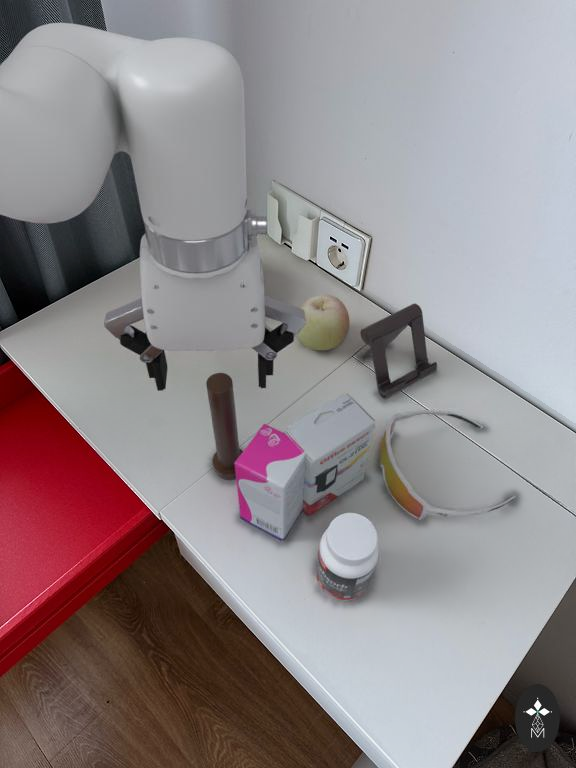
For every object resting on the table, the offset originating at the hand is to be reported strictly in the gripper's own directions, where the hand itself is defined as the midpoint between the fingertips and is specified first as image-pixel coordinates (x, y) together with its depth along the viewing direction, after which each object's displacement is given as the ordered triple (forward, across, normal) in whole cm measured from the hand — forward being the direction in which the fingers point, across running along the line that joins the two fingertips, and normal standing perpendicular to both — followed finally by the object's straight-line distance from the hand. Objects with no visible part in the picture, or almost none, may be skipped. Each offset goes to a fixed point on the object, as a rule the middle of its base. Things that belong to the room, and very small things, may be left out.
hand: (212, 378), depth 56 cm
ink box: (+16, -12, +3) cm, 20 cm away
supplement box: (+16, -6, +6) cm, 18 cm away
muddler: (+16, -1, 0) cm, 16 cm away
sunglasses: (+16, -26, +2) cm, 30 cm away
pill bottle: (+16, -13, +14) cm, 25 cm away
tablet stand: (+16, -23, -14) cm, 31 cm away
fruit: (+16, -14, -20) cm, 29 cm away
